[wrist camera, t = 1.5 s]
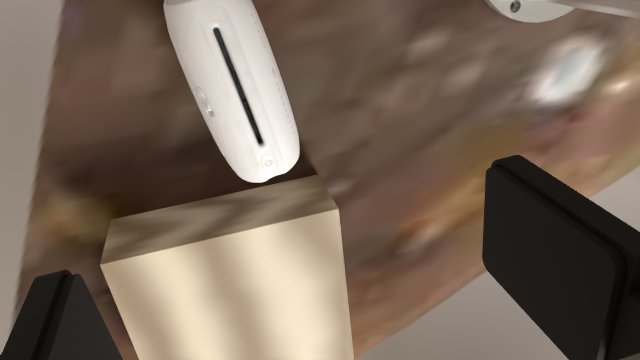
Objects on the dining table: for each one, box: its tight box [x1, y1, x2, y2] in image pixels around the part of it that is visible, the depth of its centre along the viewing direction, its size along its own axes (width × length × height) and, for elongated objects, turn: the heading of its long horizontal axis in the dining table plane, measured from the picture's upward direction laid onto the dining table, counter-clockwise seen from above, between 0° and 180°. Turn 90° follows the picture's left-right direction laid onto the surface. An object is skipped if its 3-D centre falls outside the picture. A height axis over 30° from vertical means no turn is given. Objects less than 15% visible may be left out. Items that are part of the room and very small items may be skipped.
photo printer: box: [163, 0, 300, 183], centre depth 26 cm, size 10×4×12 cm, turn 16°
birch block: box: [100, 175, 354, 360], centre depth 38 cm, size 16×16×6 cm
